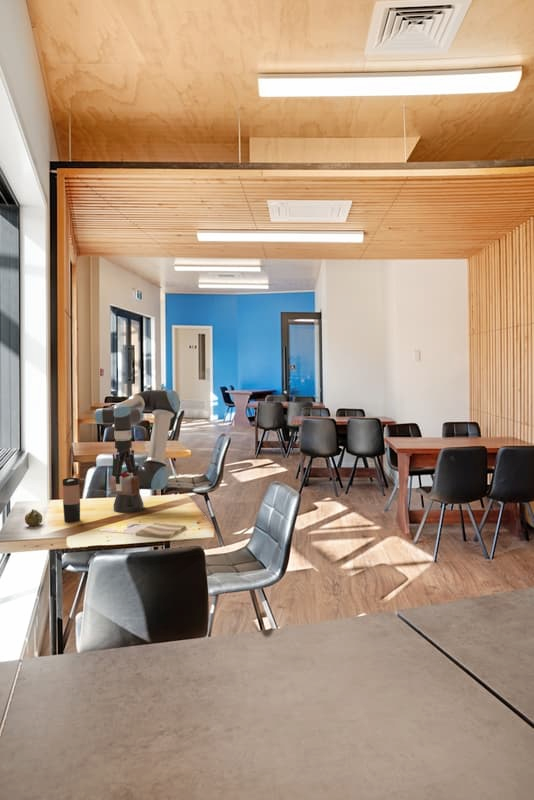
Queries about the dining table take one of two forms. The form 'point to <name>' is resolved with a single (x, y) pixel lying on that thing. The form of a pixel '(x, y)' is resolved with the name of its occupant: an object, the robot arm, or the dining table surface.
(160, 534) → the beige cloth
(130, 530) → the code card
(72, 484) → the travel mug
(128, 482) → the food item
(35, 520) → the onion
